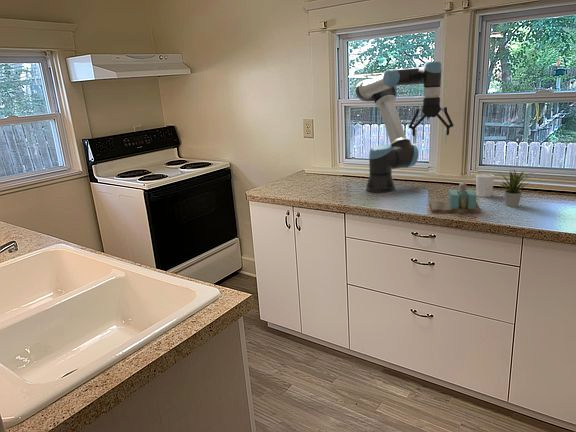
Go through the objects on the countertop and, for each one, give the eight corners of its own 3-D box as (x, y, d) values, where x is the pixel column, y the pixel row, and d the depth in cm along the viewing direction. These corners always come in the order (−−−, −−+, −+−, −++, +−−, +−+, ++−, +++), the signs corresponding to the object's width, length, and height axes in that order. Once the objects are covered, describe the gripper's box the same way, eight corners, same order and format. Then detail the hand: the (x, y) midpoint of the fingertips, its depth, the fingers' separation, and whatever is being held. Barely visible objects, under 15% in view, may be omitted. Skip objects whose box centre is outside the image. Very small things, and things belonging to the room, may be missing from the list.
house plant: (540, 207, 188) (545, 170, 183) (514, 211, 185) (518, 174, 180) (515, 200, 201) (518, 165, 197) (490, 204, 198) (493, 168, 193)
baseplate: (431, 212, 190) (432, 187, 187) (429, 204, 203) (430, 180, 199) (480, 213, 185) (482, 187, 182) (476, 205, 197) (477, 180, 194)
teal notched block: (448, 202, 199) (449, 189, 197) (472, 202, 196) (472, 189, 194) (450, 208, 190) (451, 195, 188) (475, 208, 187) (476, 195, 185)
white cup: (494, 197, 208) (496, 177, 205) (476, 197, 209) (478, 177, 206) (490, 193, 215) (492, 173, 212) (473, 193, 217) (474, 173, 214)
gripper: (404, 98, 203) (403, 144, 209) (461, 95, 196) (458, 142, 202) (404, 97, 209) (403, 142, 216) (459, 95, 203) (456, 140, 209)
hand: (430, 142), depth 209 cm, fingers open, 13 cm apart
